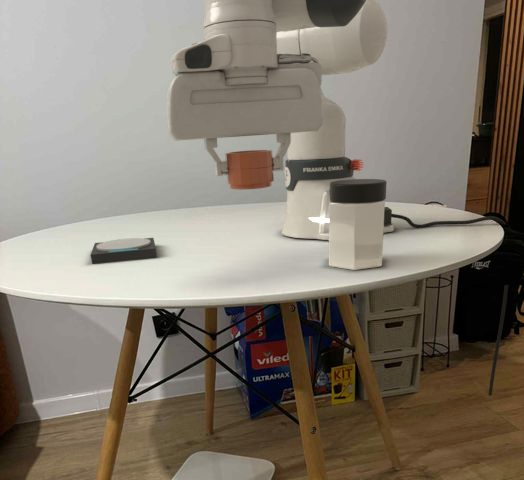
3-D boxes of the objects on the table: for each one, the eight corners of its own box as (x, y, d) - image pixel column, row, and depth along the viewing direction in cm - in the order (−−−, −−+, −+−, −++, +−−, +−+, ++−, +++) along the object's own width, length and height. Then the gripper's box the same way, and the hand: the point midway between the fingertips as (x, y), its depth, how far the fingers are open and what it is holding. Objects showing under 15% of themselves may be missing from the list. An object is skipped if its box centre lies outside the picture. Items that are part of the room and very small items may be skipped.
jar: (368, 254, 82) (371, 177, 77) (395, 265, 75) (400, 181, 70) (318, 261, 80) (318, 181, 75) (340, 272, 72) (341, 185, 68)
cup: (267, 183, 72) (265, 149, 70) (278, 187, 66) (277, 150, 64) (224, 186, 70) (221, 152, 69) (232, 191, 65) (229, 154, 63)
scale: (154, 245, 98) (153, 235, 97) (156, 257, 88) (155, 246, 87) (96, 251, 96) (94, 240, 95) (92, 263, 86) (89, 252, 85)
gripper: (313, 56, 67) (314, 165, 72) (158, 61, 63) (172, 177, 68) (330, 48, 61) (330, 168, 67) (161, 54, 57) (176, 181, 63)
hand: (249, 173), depth 68 cm, fingers closed on cup, 6 cm apart
